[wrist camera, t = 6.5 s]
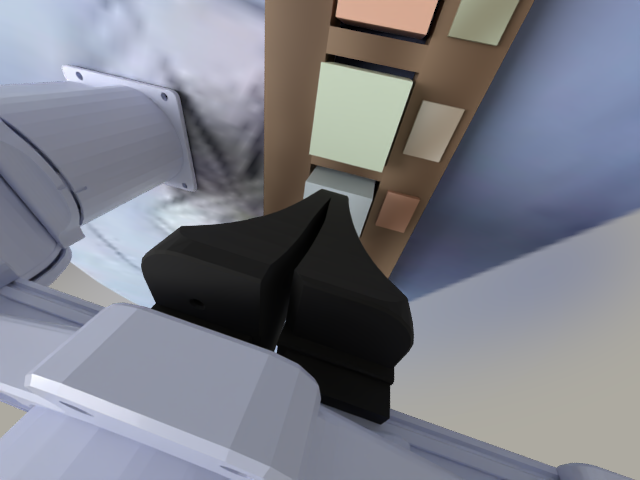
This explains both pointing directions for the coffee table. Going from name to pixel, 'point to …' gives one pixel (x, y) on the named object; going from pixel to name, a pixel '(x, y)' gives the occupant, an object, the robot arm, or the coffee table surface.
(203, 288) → the robot arm
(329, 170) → the bluegrey key
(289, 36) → the keypad
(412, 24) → the terracotta key
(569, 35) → the coffee table surface
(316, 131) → the sage key
